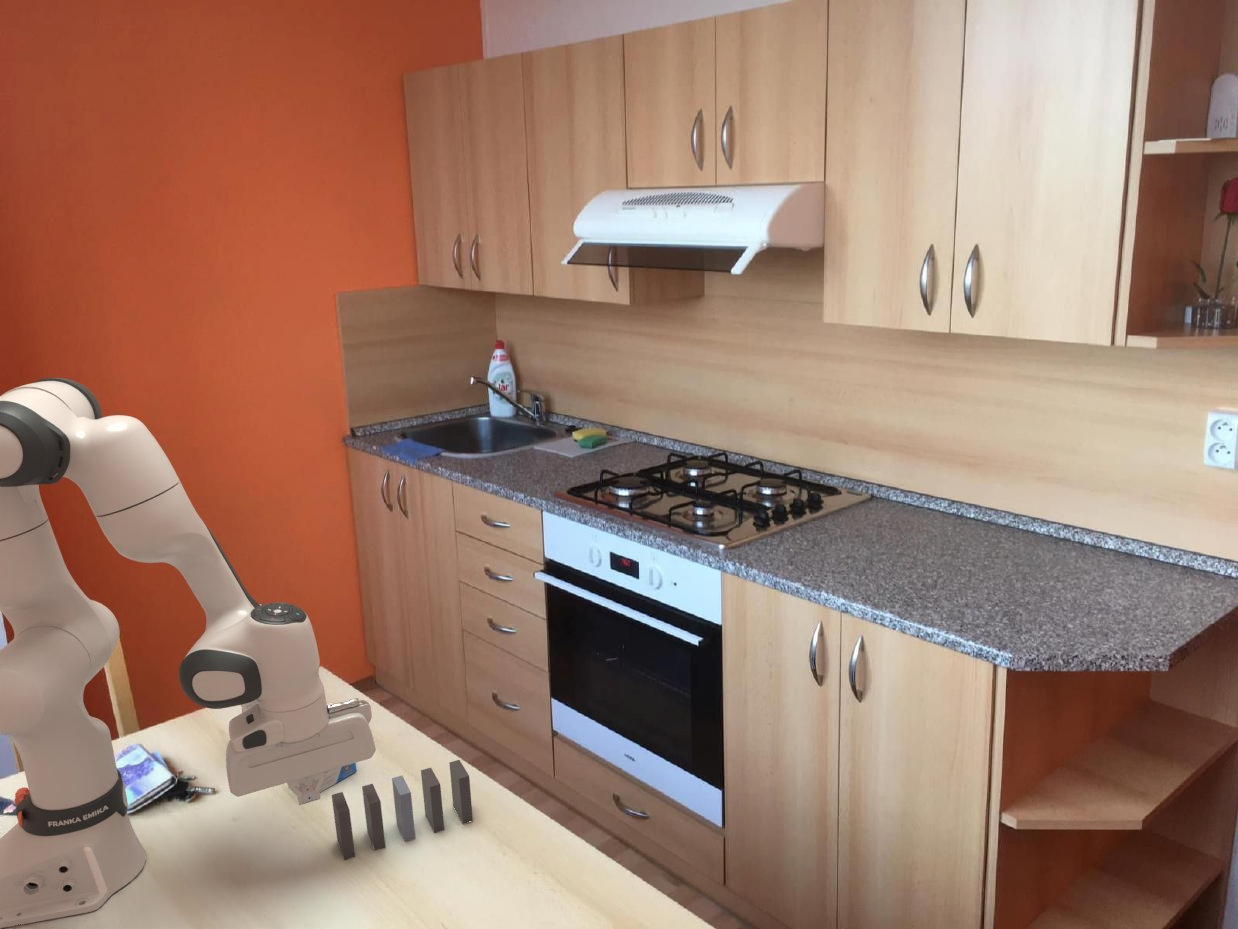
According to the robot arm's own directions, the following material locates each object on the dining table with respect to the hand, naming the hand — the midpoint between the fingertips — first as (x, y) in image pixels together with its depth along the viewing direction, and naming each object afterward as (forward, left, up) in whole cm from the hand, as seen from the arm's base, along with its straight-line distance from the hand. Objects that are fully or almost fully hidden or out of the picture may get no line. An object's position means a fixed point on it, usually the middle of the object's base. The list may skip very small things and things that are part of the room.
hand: (309, 800), depth 149 cm
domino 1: (+4, 0, -10) cm, 11 cm away
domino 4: (+18, 0, -10) cm, 20 cm away
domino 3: (+13, 0, -10) cm, 17 cm away
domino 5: (+22, 0, -10) cm, 24 cm away
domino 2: (+9, 0, -10) cm, 13 cm away
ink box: (+5, +20, -10) cm, 23 cm away
